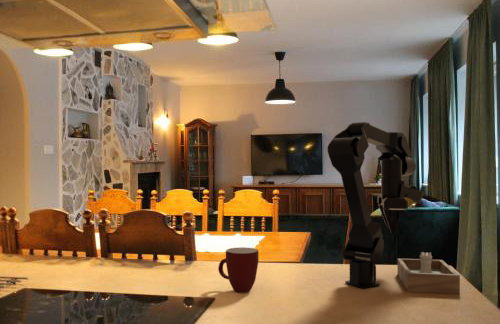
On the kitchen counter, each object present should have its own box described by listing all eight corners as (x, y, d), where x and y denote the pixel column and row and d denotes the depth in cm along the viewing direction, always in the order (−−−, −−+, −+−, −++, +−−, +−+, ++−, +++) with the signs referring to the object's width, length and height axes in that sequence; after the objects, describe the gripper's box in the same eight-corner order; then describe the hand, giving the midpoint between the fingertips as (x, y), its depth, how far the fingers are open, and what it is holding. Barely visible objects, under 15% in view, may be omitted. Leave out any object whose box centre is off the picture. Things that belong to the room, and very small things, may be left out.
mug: (211, 292, 114) (211, 251, 114) (223, 284, 121) (223, 246, 121) (252, 296, 110) (252, 254, 110) (262, 288, 118) (262, 248, 118)
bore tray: (459, 294, 113) (459, 275, 113) (407, 291, 115) (407, 273, 115) (442, 276, 130) (442, 259, 130) (397, 274, 132) (397, 258, 132)
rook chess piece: (420, 285, 120) (420, 254, 120) (414, 281, 125) (414, 251, 125) (438, 285, 120) (438, 254, 120) (430, 281, 125) (430, 251, 125)
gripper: (427, 177, 123) (427, 237, 123) (415, 175, 141) (415, 227, 141) (384, 177, 125) (384, 236, 125) (377, 175, 143) (377, 226, 143)
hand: (391, 231), depth 134 cm, fingers open, 9 cm apart
